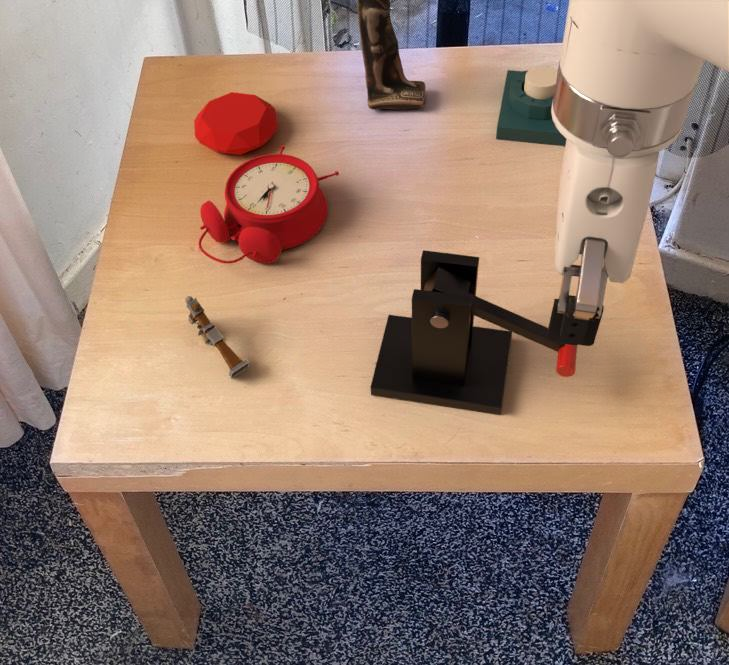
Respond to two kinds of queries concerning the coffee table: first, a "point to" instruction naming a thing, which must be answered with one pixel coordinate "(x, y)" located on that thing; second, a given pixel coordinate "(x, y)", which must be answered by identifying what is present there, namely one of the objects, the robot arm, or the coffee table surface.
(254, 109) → the gemstone
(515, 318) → the red handled lever
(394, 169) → the coffee table surface
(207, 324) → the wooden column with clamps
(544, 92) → the power button
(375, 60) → the statue
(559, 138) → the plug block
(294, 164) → the alarm clock
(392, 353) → the black lever base
